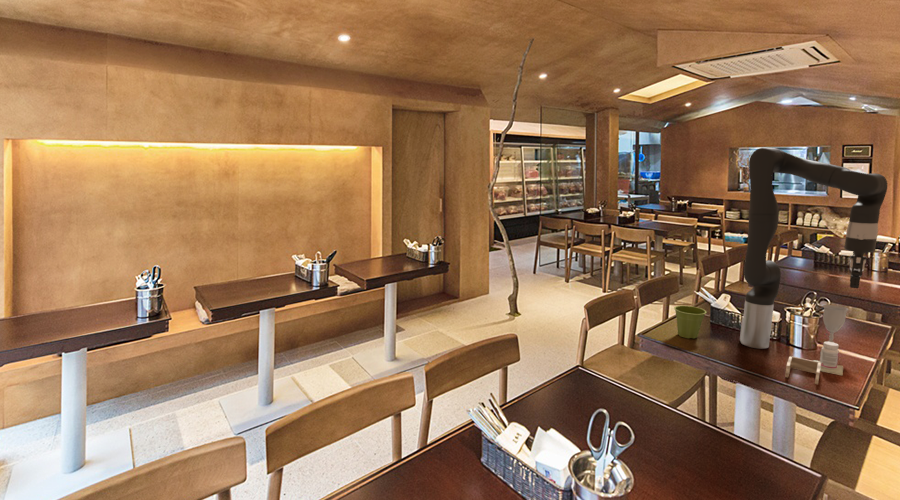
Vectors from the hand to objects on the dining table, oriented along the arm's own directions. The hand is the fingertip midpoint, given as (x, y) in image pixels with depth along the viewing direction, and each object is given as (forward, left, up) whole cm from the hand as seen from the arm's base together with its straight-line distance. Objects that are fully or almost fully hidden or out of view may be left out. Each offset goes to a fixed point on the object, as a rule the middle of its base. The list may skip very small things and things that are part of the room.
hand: (853, 285), depth 153 cm
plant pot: (-34, -35, -30) cm, 57 cm away
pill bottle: (-2, -3, -30) cm, 30 cm away
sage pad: (-2, -3, -30) cm, 30 cm away
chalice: (-14, +7, -30) cm, 34 cm away
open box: (+3, -15, -30) cm, 34 cm away
